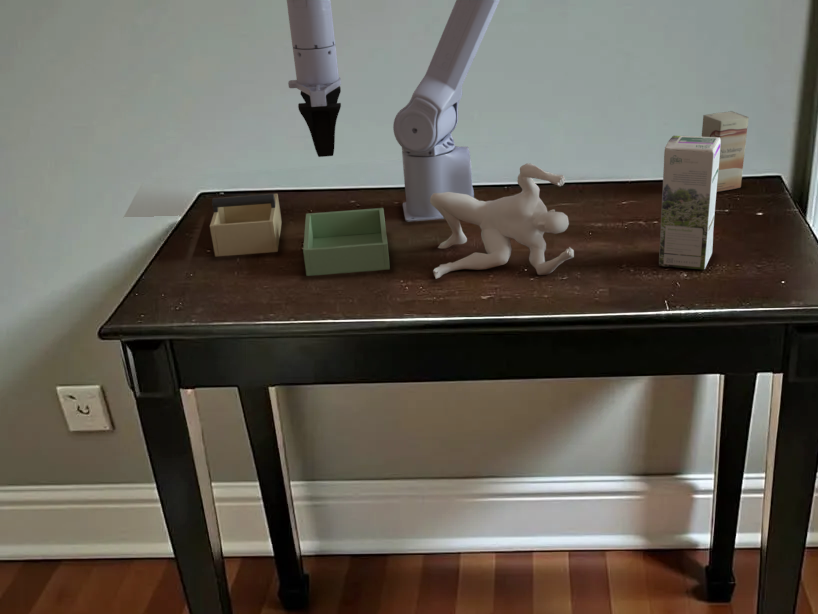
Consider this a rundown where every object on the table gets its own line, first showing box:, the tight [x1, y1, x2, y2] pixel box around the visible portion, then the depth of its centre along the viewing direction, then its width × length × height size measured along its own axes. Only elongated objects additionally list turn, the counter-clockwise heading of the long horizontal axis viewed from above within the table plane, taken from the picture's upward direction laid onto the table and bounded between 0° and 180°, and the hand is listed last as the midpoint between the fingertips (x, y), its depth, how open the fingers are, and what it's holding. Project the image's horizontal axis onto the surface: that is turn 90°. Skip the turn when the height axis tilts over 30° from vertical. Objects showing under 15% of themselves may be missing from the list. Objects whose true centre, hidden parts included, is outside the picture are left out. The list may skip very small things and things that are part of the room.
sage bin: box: [302, 207, 391, 277], centre depth 136 cm, size 10×14×4 cm
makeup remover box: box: [701, 110, 749, 193], centre depth 152 cm, size 5×4×10 cm
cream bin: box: [209, 193, 283, 257], centre depth 141 cm, size 8×12×6 cm, turn 7°
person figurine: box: [430, 162, 575, 280], centre depth 130 cm, size 13×13×18 cm
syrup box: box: [658, 135, 721, 271], centre depth 126 cm, size 6×6×14 cm
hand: (326, 148), depth 149 cm, fingers open, 7 cm apart
